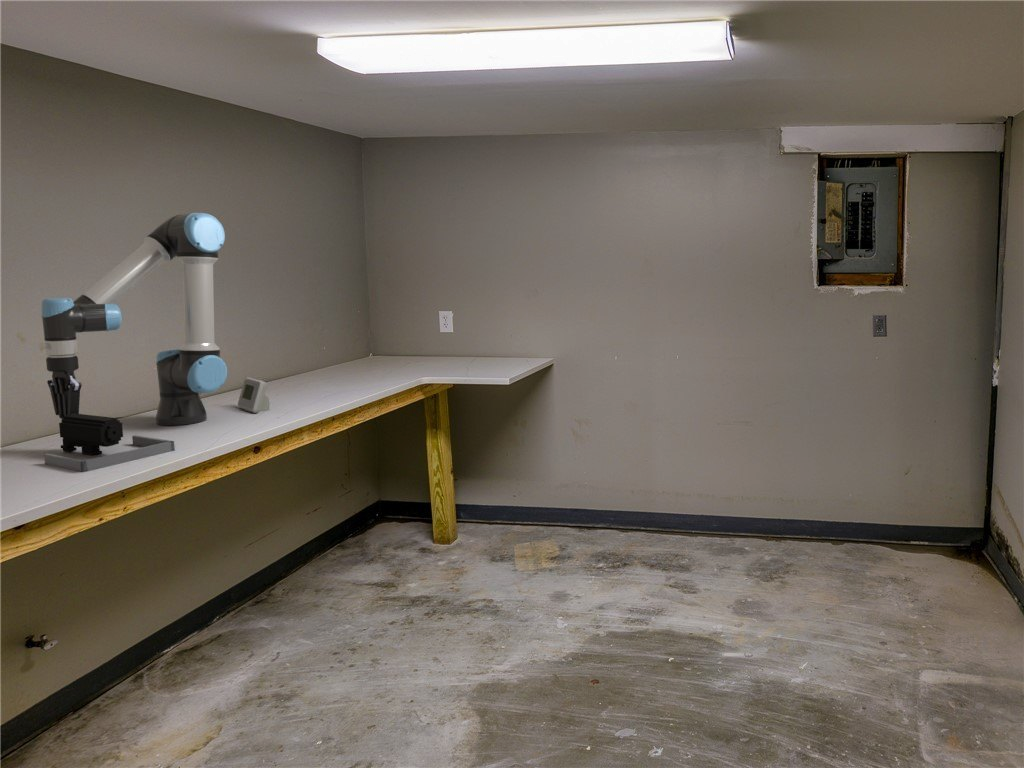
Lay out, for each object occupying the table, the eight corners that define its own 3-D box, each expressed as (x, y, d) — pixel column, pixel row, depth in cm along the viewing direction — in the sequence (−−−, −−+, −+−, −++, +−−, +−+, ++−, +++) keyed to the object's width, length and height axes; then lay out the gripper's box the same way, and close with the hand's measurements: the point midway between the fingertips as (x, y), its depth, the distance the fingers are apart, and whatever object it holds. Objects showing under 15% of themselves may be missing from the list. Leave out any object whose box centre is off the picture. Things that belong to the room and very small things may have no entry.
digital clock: (237, 408, 280) (234, 377, 279) (263, 405, 284) (261, 375, 283) (244, 415, 266) (241, 383, 264) (272, 412, 270) (270, 381, 268)
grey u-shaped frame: (136, 443, 226) (135, 435, 225) (174, 450, 217) (174, 441, 216) (45, 463, 205) (43, 454, 204) (83, 471, 196) (82, 461, 195)
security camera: (75, 447, 221) (72, 411, 220) (126, 453, 215) (124, 417, 213) (53, 453, 215) (50, 416, 213) (105, 460, 208) (102, 422, 207)
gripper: (34, 355, 217) (42, 441, 220) (60, 358, 210) (68, 447, 213) (62, 353, 223) (70, 436, 226) (88, 355, 216) (96, 441, 220)
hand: (69, 441), depth 220 cm, fingers closed
